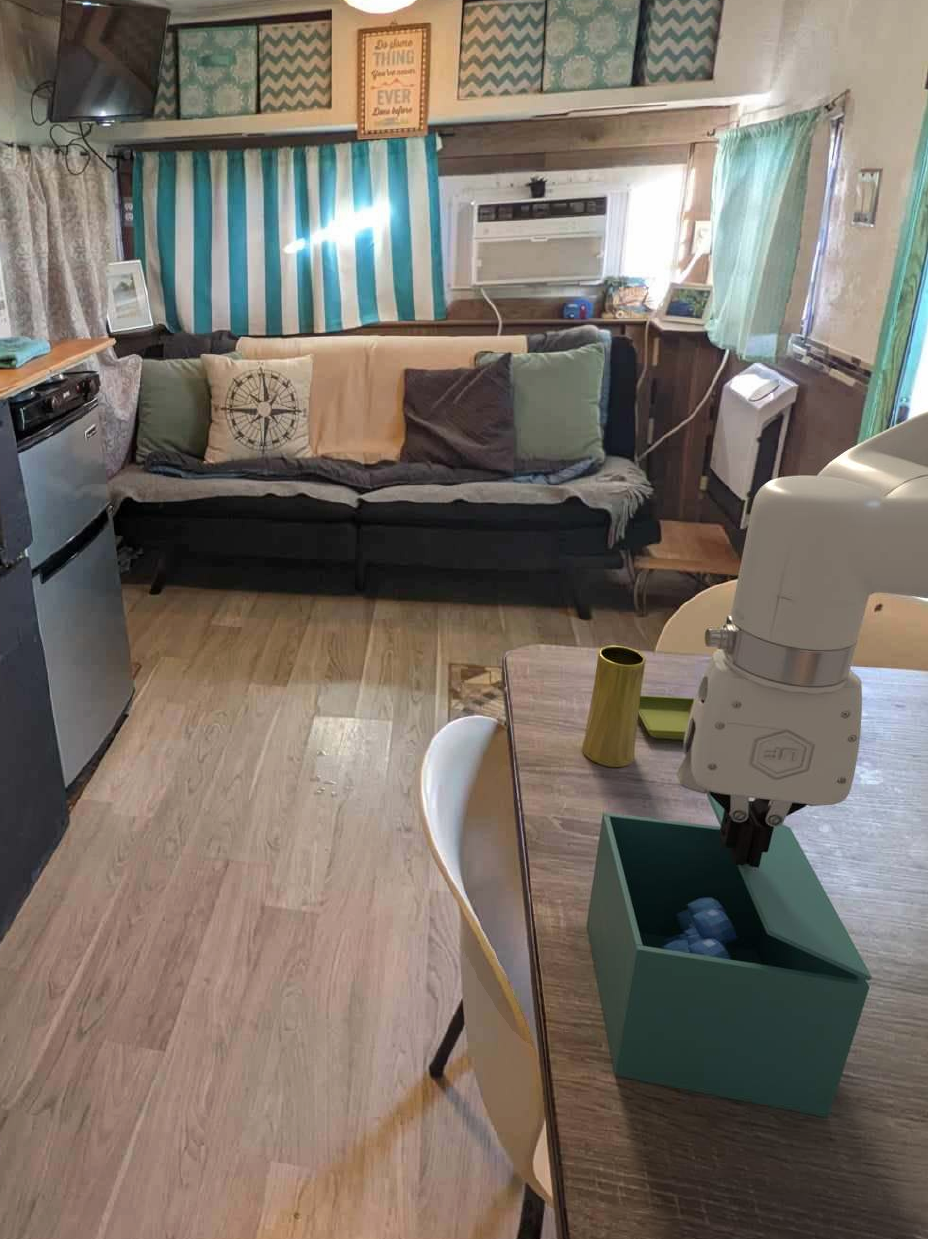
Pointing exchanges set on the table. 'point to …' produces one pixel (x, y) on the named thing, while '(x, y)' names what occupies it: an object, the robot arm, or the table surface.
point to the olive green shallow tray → (665, 715)
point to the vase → (614, 707)
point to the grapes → (703, 930)
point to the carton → (710, 977)
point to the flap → (797, 902)
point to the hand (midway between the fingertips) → (740, 853)
